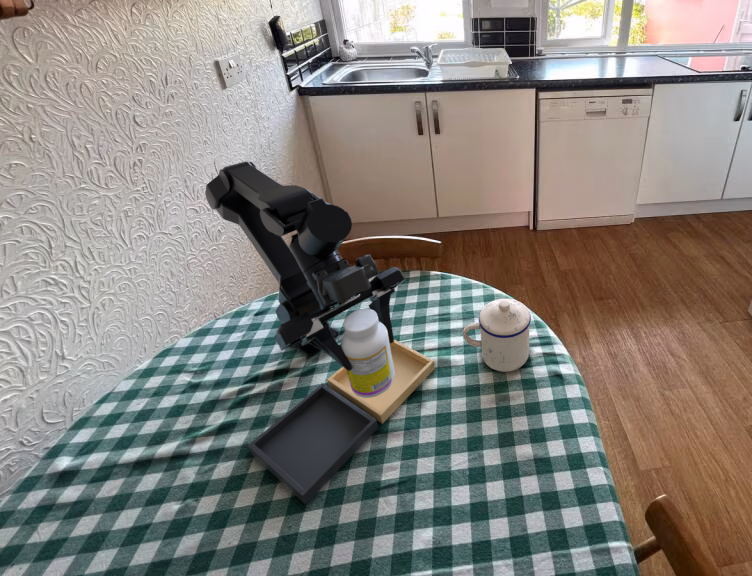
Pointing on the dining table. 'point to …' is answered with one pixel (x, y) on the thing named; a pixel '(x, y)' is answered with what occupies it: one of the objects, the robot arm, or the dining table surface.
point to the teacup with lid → (502, 334)
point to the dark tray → (313, 441)
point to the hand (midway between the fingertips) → (371, 355)
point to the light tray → (407, 378)
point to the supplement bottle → (367, 353)
